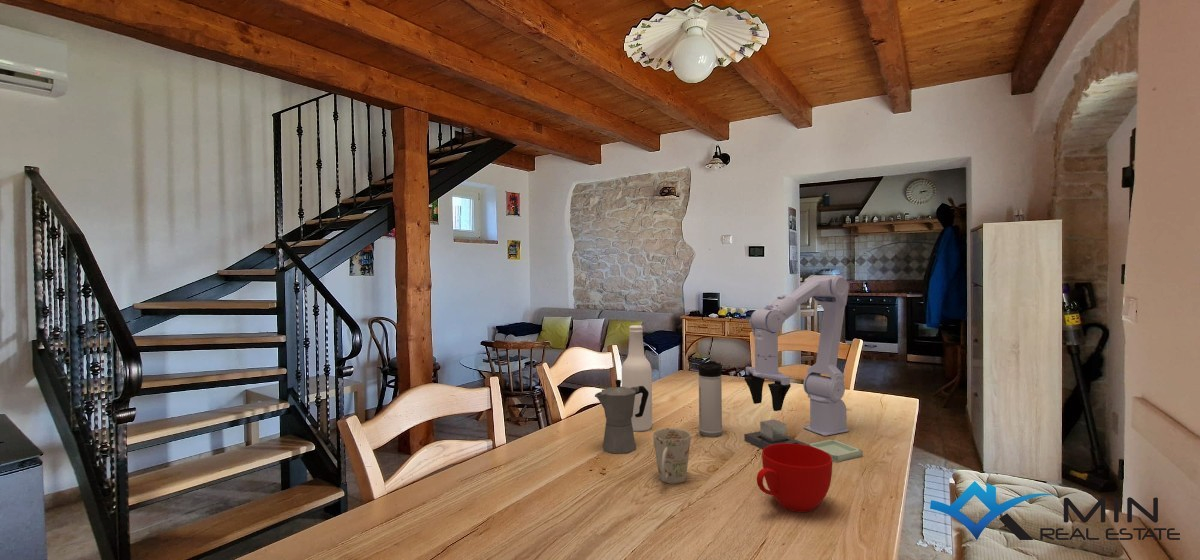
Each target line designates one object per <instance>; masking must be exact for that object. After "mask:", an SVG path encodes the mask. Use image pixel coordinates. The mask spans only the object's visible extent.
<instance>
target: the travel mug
mask: <svg viewBox="0 0 1200 560" xmlns="http://www.w3.org/2000/svg"><path fill="white" fill-rule="evenodd" d="M722 389H723V388H722V364H721V363H719V362H716V361H715V360H709V361H706V362H705V361H704V362H701V363H699V364H698V423H699V424H698V426H699V427H698V428H699V430H698V431H699V432H698V433H699V434H700V435H701V436H702V437H707V438H717V437H720V436H722V435H723V408H722V406H723V405H722V404H723V400H722V399H723V398H722V397H723V396H722V395H723V394H722V391H723V390H722Z"/></svg>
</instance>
